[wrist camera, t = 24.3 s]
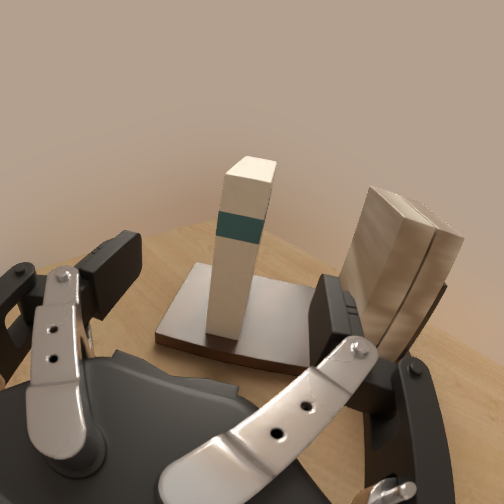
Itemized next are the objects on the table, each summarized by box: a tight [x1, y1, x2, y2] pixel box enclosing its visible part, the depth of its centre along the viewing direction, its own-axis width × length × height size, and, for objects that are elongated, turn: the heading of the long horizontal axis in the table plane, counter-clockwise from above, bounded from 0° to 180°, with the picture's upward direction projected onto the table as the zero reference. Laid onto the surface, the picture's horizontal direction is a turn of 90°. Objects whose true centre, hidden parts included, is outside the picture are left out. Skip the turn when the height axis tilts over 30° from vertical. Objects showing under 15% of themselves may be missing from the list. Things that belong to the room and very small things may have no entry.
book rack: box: [155, 186, 464, 376], centre depth 21 cm, size 22×11×13 cm, turn 83°
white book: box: [205, 156, 277, 340], centre depth 21 cm, size 3×8×12 cm, turn 173°
